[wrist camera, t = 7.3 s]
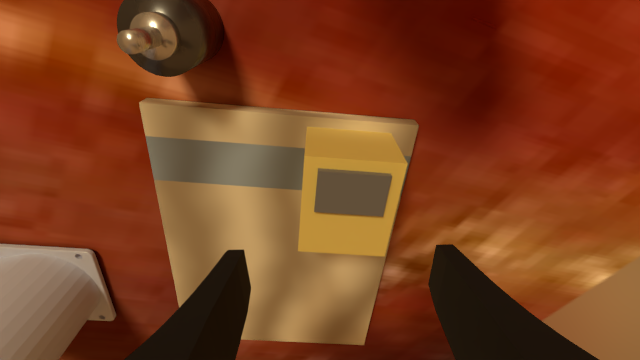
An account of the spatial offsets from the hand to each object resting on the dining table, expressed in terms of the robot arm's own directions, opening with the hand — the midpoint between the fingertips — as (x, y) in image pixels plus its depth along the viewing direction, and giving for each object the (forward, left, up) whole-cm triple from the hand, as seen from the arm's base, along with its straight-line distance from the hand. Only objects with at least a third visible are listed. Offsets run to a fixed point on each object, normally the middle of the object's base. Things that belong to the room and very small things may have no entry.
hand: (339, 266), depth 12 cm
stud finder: (+1, -1, -9) cm, 9 cm away
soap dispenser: (-8, +7, -10) cm, 15 cm away
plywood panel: (-3, -8, -10) cm, 13 cm away
